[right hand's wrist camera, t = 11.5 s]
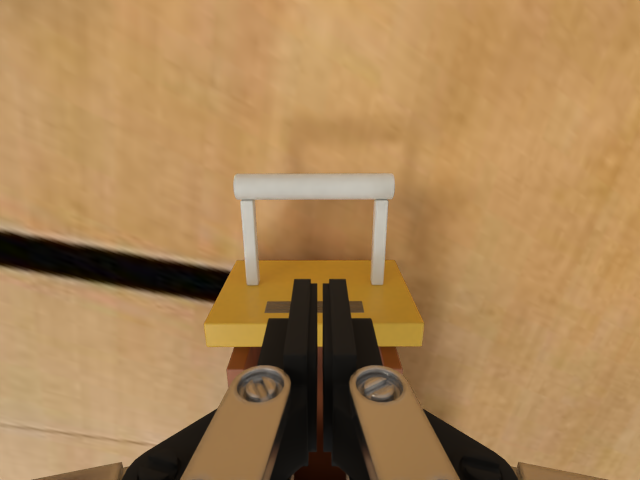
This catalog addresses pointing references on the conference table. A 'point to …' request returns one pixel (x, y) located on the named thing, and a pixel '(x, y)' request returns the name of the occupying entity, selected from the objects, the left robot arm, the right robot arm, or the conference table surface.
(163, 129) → the conference table surface
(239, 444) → the right robot arm
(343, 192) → the drawer
